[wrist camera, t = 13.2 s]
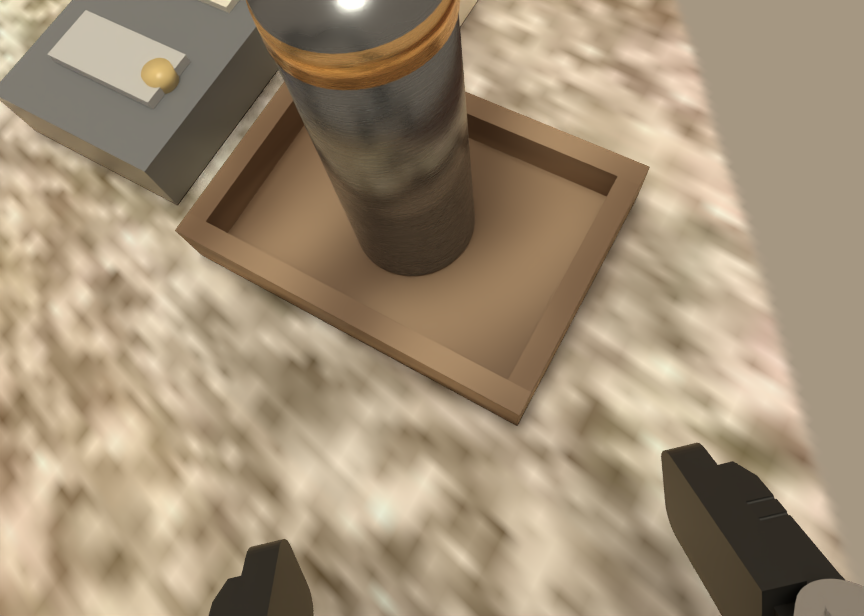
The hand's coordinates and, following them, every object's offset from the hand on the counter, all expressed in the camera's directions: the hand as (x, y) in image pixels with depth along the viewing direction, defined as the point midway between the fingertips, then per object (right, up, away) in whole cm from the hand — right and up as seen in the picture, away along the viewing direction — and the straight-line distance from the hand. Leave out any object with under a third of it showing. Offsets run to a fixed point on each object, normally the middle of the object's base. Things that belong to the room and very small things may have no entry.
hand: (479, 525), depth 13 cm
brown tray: (-2, +8, +11) cm, 13 cm away
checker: (-12, +15, +14) cm, 24 cm away
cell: (-2, +8, +10) cm, 13 cm away
